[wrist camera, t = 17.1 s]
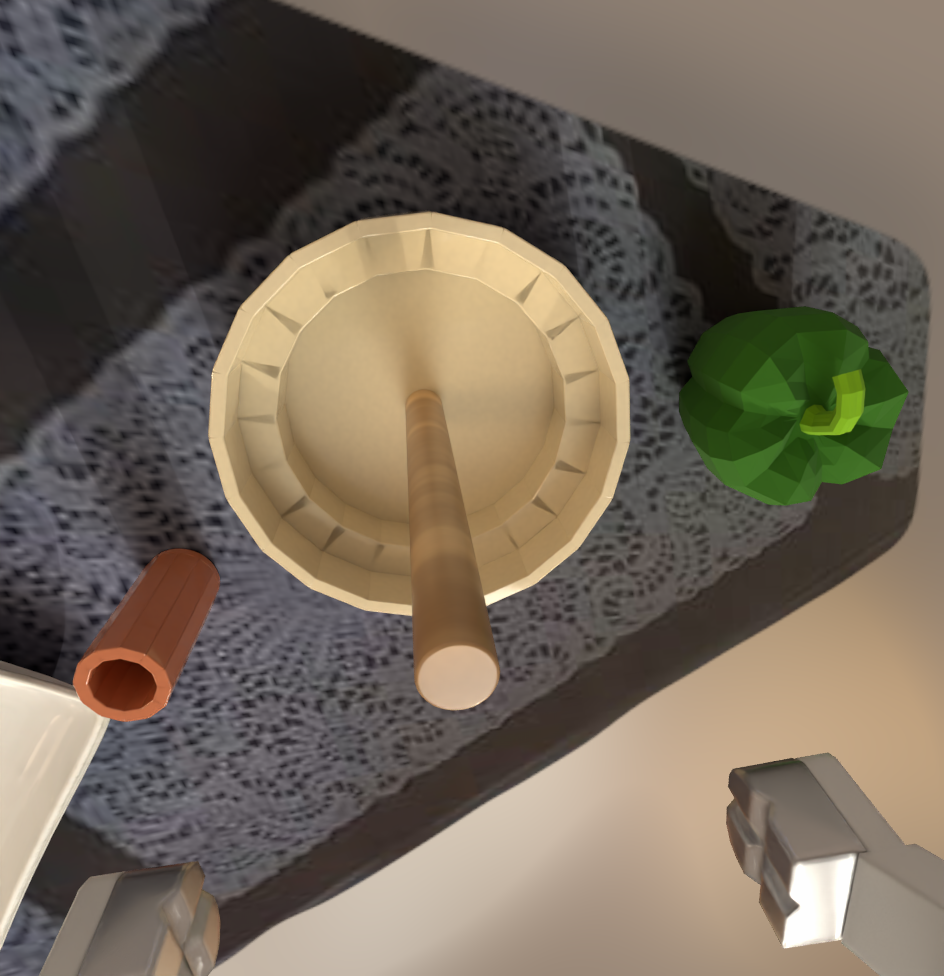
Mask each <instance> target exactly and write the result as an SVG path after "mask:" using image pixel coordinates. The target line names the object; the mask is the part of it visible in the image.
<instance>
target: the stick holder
mask: <svg viewBox="0 0 944 976" xmlns="http://www.w3.org/2000/svg"><path fill="white" fill-rule="evenodd" d="M219 587H220V578H219V574H218V572H217V569H216V568H215V566H214V565H213V563H212V562H211V561H210V560H209V559H207V558H206V557H205V556H203V555H202V554H200V553H198V552H195V551H192V550H188V549H170V550H166V551H163V552H161V553H159V554H158V555H156V556H155V557H154V558H153V559H152V560H151V561H150V562H149V564H147V565H146V566H145V568H144V569H143V571H142V572H141V573H140V575H139V576H138V578H137V579H136V581H135V582H134V583H133V585H132V586H131V588H130V589H129V591H128V592H127V594H126V595H125V596H124V598H123V599H122V601H121V602H120V604H119V605H118V606H117V608H116V609H115V611H114V612H113V614H112V615H111V617H110V618H109V619H108V621H107V622H106V624H105V625H104V627H103V628H102V629H101V631H100V632H99V634H98V635H97V637H96V638H95V639H94V641H93V642H92V644H91V645H90V647H89V648H88V650H87V651H86V652H85V654H84V655H83V657H82V658H81V660H80V661H79V662H78V664H77V667H76V670H75V674H74V678H73V685H74V688H75V690H76V692H77V694H78V697H79V699H80V701H82V703H83V704H84V705H86V706H87V707H88V708H90V709H91V710H93V711H94V712H95V713H97V714H98V715H101V717H106V718H110V719H114V720H118V721H123V722H128V721H134V720H141V719H147V718H150V717H151V716H153V715H154V714H155V713H157V712H158V711H159V710H161V709H162V708H164V707H165V706H166V705H167V703H168V701H169V699H170V697H171V694H172V692H173V690H174V688H175V686H176V684H177V681H178V679H179V677H180V675H181V673H182V671H183V668H184V666H185V664H186V662H187V660H188V658H189V655H190V653H191V651H192V649H193V647H194V645H195V642H196V640H197V638H198V636H199V634H200V632H201V629H202V627H203V625H204V623H205V621H206V619H207V616H208V614H209V612H210V610H211V608H212V606H213V603H214V601H215V598H216V595H217V593H218V591H219Z"/></svg>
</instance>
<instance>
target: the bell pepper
mask: <svg viewBox="0 0 944 976" xmlns="http://www.w3.org/2000/svg"><path fill="white" fill-rule="evenodd" d="M687 362H688V365H689V368H690V371H691V374H692V377H691V379H690V380H689V381H688V382H687V383H686V384H685V385H684V387H683V388H682V389H681V391H680V392H679V413H680V416H681V418H682V421H683V424H684V426H685V428H686V430H687V432H688V434H689V436H690V438H691V440H692V442H693V444H694V446H695V447H696V449H697V451H698V452H699V454H700V456H701V458H702V459H703V461H704V463H705V465H706V466H707V468H708V469H709V470H710V471H711V472H712V473H713V474H714V475H715V476H716V477H717V478H718V479H719V480H720V481H722V482H723V483H724V484H725V485H727V486H729V487H731V488H733V489H735V490H738V491H740V492H742V493H744V494H746V495H749V496H751V497H753V498H755V499H757V500H760V501H762V502H764V503H766V504H770V505H791V504H796V503H801V502H807V501H811V500H812V498H813V496H814V495H815V493H816V491H817V489H818V488H819V486H820V484H821V482H828V483H836V484H844V483H847V482H849V481H852V480H854V479H857V478H859V477H862V476H865V475H867V474H870V473H872V472H875V471H877V470H880V469H881V468H882V465H883V461H884V458H885V454H886V451H887V447H888V444H889V440H890V437H891V433H892V430H893V427H894V425H895V422H896V420H897V418H898V415H899V413H900V411H901V408H902V406H903V404H904V401H905V399H906V397H907V394H908V390H907V389H906V387H905V386H904V384H903V383H902V382H901V380H900V379H899V377H898V376H897V374H896V373H895V372H894V370H893V369H892V367H891V366H890V364H889V363H888V361H887V360H886V359H885V357H884V356H883V354H882V353H881V351H880V350H877V349H873V348H870V347H868V341H867V340H866V338H865V337H864V335H863V334H862V332H861V331H860V330H859V328H858V327H857V326H855V325H853V324H852V323H850V322H848V321H847V320H845V319H843V318H841V317H840V316H838V315H836V314H835V313H833V312H828V311H824V310H819V309H815V308H810V307H806V306H804V307H793V308H783V309H772V310H762V311H753V312H746V313H739V314H736V315H732V316H729V317H726V318H725V319H723V320H722V321H720V322H719V323H717V324H716V325H714V326H713V327H711V328H710V329H708V330H707V331H705V332H704V333H703V334H702V336H701V337H700V339H699V341H698V343H697V345H696V346H695V348H694V350H693V352H692V353H691V355H690V357H689V359H688V360H687Z"/></svg>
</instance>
